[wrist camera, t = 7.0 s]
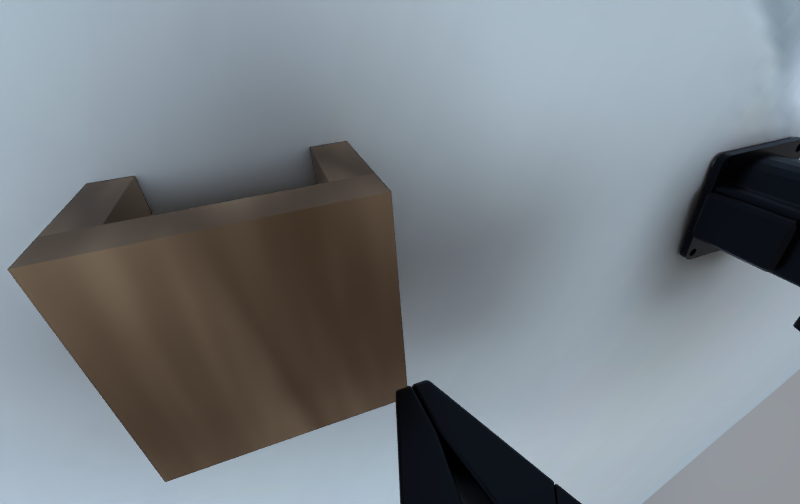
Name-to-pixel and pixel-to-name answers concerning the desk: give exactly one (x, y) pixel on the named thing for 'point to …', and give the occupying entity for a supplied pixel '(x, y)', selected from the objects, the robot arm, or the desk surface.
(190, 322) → the footstool
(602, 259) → the desk surface
